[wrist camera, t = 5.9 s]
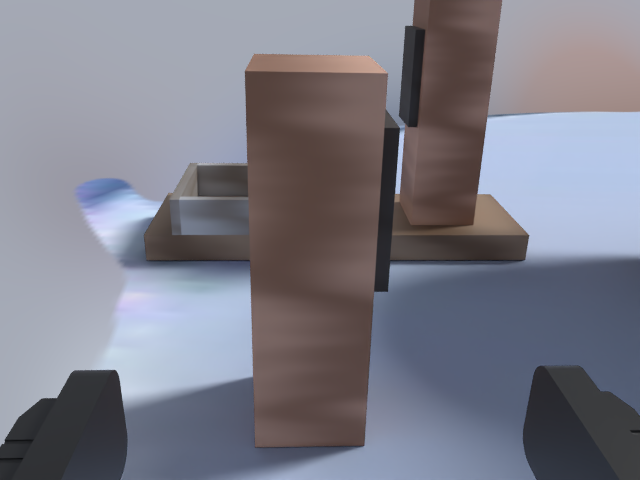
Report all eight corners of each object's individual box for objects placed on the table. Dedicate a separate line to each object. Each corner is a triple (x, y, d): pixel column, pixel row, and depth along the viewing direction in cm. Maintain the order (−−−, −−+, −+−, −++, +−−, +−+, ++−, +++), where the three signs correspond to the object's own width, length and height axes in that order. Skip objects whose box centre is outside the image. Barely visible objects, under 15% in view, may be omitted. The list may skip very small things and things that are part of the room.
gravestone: (487, 215, 40) (517, -2, 35) (524, 259, 34) (568, 1, 28) (170, 214, 39) (151, -9, 34) (146, 260, 33) (118, -8, 27)
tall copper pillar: (365, 373, 24) (385, 56, 19) (379, 445, 20) (407, 73, 15) (260, 374, 23) (254, 53, 19) (255, 447, 20) (244, 71, 15)
